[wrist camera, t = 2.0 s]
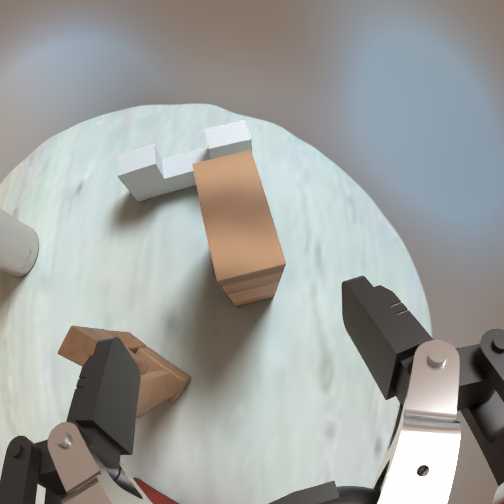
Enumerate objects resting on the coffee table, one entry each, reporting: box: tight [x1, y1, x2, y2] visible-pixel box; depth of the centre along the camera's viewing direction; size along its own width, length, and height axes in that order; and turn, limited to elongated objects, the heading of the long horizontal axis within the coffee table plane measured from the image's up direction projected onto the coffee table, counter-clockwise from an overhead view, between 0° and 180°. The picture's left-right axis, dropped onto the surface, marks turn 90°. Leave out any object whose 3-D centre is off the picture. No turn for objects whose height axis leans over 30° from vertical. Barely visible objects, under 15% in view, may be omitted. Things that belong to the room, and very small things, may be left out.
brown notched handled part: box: [58, 326, 191, 418], centre depth 27 cm, size 4×11×18 cm, turn 59°
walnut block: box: [192, 150, 286, 307], centre depth 31 cm, size 10×5×18 cm, turn 15°
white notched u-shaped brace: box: [117, 120, 252, 202], centre depth 40 cm, size 18×4×8 cm, turn 104°
